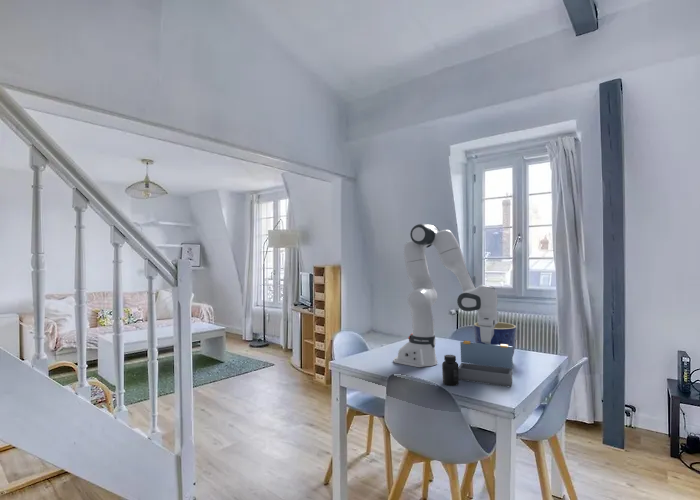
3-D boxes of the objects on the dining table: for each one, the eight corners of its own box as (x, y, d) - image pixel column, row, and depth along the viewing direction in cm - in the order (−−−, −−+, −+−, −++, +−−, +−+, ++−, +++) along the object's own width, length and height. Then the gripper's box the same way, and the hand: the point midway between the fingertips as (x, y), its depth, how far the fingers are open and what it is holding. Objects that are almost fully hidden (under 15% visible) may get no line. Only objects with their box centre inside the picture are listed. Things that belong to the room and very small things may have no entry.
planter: (520, 368, 191) (520, 329, 191) (476, 366, 195) (476, 327, 195) (511, 357, 211) (511, 322, 211) (472, 355, 215) (471, 320, 215)
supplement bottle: (455, 380, 173) (455, 353, 173) (460, 386, 166) (460, 357, 166) (440, 381, 172) (440, 353, 173) (444, 386, 166) (444, 358, 166)
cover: (459, 341, 180) (460, 339, 182) (460, 364, 182) (461, 361, 184) (511, 346, 170) (512, 344, 173) (512, 370, 172) (512, 367, 174)
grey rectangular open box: (457, 379, 174) (457, 368, 174) (461, 373, 183) (461, 362, 183) (510, 386, 165) (510, 375, 165) (512, 379, 174) (512, 368, 174)
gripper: (483, 315, 196) (483, 343, 195) (477, 322, 177) (478, 352, 177) (496, 316, 193) (497, 344, 193) (492, 323, 174) (492, 354, 174)
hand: (488, 348), depth 185 cm, fingers closed
